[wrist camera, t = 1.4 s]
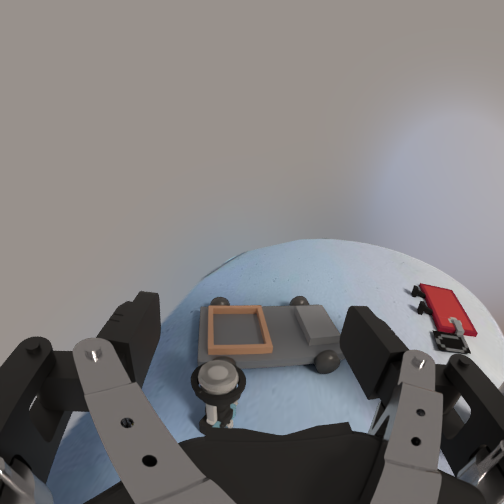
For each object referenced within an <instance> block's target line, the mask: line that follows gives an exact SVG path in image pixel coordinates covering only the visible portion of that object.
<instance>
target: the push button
mask: <svg viewBox="0 0 504 504" xmlns="http://www.w3.org/2000/svg"><path fill="white" fill-rule="evenodd" d="M199 383H200V384H201V388H200V387H199ZM237 383H238V385H239V386H238V387H237V388H236V385H237ZM191 385H192V388H193V390H194V391H195V394H196V396H197V397H198V398H200V399H201V400H202V401H203V402H205V403H206V407H205V414H206V415H205V416H204V417H203V418H202V419H201V420H200V422H199V426H200V432H201V433H203V434H204V435H206V427H218V428H226V427H227V426H228V428H230V427H231V428H232V427H233V418H234V417H235V414H236V406H237V404H238V402H237V401H238V399H239V398H240V396H241V393H242V392H243V391H244V389H245V385H246V378H245V375H244V373H243V371H242V370H241V369H240V368H239V367H237V366H236V365H234V364H232V363H229V362H226V361H222V360H214V361H209V362H206V363H204V364H202V365H200V366H198V367H197V368H196V369H195V370H194V371H193V373H192V376H191Z"/></svg>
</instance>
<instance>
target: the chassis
mask: <svg viewBox="0 0 504 504" xmlns="http://www.w3.org/2000/svg"><path fill="white" fill-rule="evenodd" d="M339 341H340V333H339V332H338V330H337V328H336V327H335V325H334V324H333V322H332V320H331V319H330V317H329V316H328V314H327V312H326V311H325V309H324V307H323V306H322V305H309V303H308V301H307V299H306V298H305V297H303V296H297V297H295V298H293V299H292V300H291V302H290V306H264V307H261V305H252V306H230V303H229V301H228V300H227V299H226V298H223V297H217V298H214V299H213V300H212V301H211V304H210V306H209V307H201V309H200V325H199V343H198V366H200V365H202V364H204V363H206V362H209V361H214V360H222V361H226V362H229V363H232V364H234V365H236V366H237V367H239V368H240V369H246V368H267V367H282V366H294V365H304V364H313V363H314V364H315V366H316V368H317V371H318V372H319V373H321V374H328V373H331V372H333V371H334V370H336V369H337V368H338V367H339V365H340V360H344V359H345V356H344V355H343V353H342V351H341V349H340V343H339Z"/></svg>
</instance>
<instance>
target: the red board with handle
mask: <svg viewBox="0 0 504 504" xmlns="http://www.w3.org/2000/svg"><path fill="white" fill-rule="evenodd" d="M419 286H420V288H421V291H422V292H421V291H419V289H418V287H417V286H415V285H414V288H413V290H412V293H411V294H412V296H413V297H416V296H417V295H419V296H421V297H423V298H425V300H426V303H427V305H428V307H429V308H428V307H426V305H425V303H424V301H420V304H419V307H418V309H417V311H418V314H420V315H422V314H423V311H425V312H426V313H428V314H430V315H432V317H433V320H434V322H435V325H436V327H437V330H438V331H433V333H434V336H435V339H436V342H437V345H438V348H439V350H447V351H454V352H462V353H470V354H471V352H470V350H469V347H468V345H467V343H466V341H465V339H464V336H463V335H466V336H474V337H476V335H477V334H478V333H477V332H476V330H475V328H474V326H473V324H472V323H471V321H470V319H469V317H468V316H467V314H466V312H465V310H464V309H463V307H462V305H461V304H460V302H459V301H458V299H457V297H456V296H455V294H454V293H453V291H452V290H449V289H445V288H440V287H435V286H431V285H426V284H422V283H420V285H419ZM439 331H441V332H439ZM445 332H447V333H445ZM452 333H454V334H452Z"/></svg>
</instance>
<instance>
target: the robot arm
mask: <svg viewBox="0 0 504 504" xmlns="http://www.w3.org/2000/svg"><path fill="white" fill-rule="evenodd" d="M160 333H161V322H160V304H159V295H158V293H152V292H144V291H140V292H139V293H138V295H137V296H136V298H135V299H134V301H133V302H130V301H127V302H125V303H124V304H122V305H120V306H118V308H117V309H116V310H115V312H114V313H113V315H112V316H111V317H110V319H109V321H107V323H106V324H105V325H104V327H103V328H102V330H101V331H100V332H99V334H98V335H97V337H96V338H88V339H85V340H82V341H80V342H79V343H77V344H76V345H75V347H74V349H73V351H53V348H52V345H51V343H50V341H49V340H47V339H46V338H43V337H31V338H28V339H26V340H24V341H22V342H21V343H20V344H19V345H18V346H17V348H16V349H15V350H14V351H13V352H12V353H11V355H10V356H9V357H8V358H7V360H6V361H5V362H4V363H3V365H2V366H1V367H0V504H53V497H52V494H51V491H50V490H49V488H48V487H47V486H46V482H47V478H48V475H49V472H50V469H51V466H52V463H53V460H54V458H55V455H56V452H57V449H58V447H59V444H60V441H61V439H62V436H63V434H64V431H65V429H66V426H67V423H68V421H69V419H70V417H71V414H72V412H73V411H81V412H90V414H91V416H92V419H93V422H94V424H95V427H96V429H97V431H98V434H99V436H100V438H101V441H102V443H103V445H104V447H105V449H106V452H107V454H108V456H109V458H110V460H111V462H112V464H113V466H114V468H115V470H116V471H117V473H118V475H119V477H120V479H121V481H120V482H118V483H117V484H115V485H114V486H112V487H110V488H109V489H107V490H106V491H104V492H102V493H101V494H99V495H97V496H96V497H94V498H92V499H90V500H89V501H87V502H85V503H83V504H501V503H502V502H504V382H503V383H502V385H501V386H500V388H499V389H497V387H496V386H495V385H494V384H493V383H492V382H491V380H490V379H489V378H488V377H487V376H486V375H485V374H484V373H483V371H482V370H481V369H480V368H479V367H478V366H477V365H476V364H475V363H474V362H473V361H472V360H471V359H470V358H468V357H467V356H464V355H461V354H454V355H452V356H451V357H450V359H449V361H448V363H447V364H446V365H441V364H435V362H434V360H433V359H432V357H431V356H429V355H428V354H426V353H424V352H422V351H419V350H409V349H408V348H407V347H406V345H405V344H404V343H403V342H402V341H401V340H400V339H399V337H398V336H397V335H395V333H394V332H393V331H392V330H391V328H390V327H389V326H388V325H387V324H386V323H385V322H384V321H382V320H381V319H379V318H378V317H376V316H375V314H374V313H373V312H372V311H371V310H370V309H369V308H368V307H367V306H351V307H349V309H348V311H347V315H346V318H345V322H344V325H343V328H342V332H341V335H340V341H339V343H340V349H341V351H342V353H343V355H344V356H345V358H346V360H347V362H348V364H349V365H350V367H351V369H352V371H353V373H354V375H355V377H356V378H357V380H358V382H359V384H360V386H361V388H362V390H363V391H364V393H365V395H366V397H367V399H368V400H370V399H376V398H380V399H381V401H380V402H379V404H378V406H377V409H376V412H375V415H374V418H373V420H372V423H371V426H370V429H369V431H368V434H367V433H363V432H356V431H352V430H351V427H350V425H349V422H344V423H337V424H329V425H320V426H315V427H312V428H308V429H305V430H302V431H298V432H295V433H291V434H288V435H275V434H269V433H263V432H258V431H253V430H248V429H240V428H218V427H206V436H205V437H197V438H193V439H189V440H185V441H182V442H180V443H177V442H176V440H175V439H174V438H173V436H172V435H171V434H170V432H169V431H168V429H167V428H166V427H165V425H164V424H163V422H162V421H161V419H160V418H159V416H158V415H157V413H156V412H155V410H154V409H153V407H152V406H151V404H150V403H149V401H148V399H147V398H146V396H145V395H144V393H143V391H142V390H141V389H142V386H143V383H144V380H145V377H146V374H147V372H148V369H149V366H150V363H151V361H152V358H153V355H154V353H155V350H156V347H157V345H158V342H159V339H160ZM461 395H462V397H463V398H464V399H465V401H466V402H467V404H468V405H469V406H470V408H471V416H470V418H469V420H468V421H467V422H466V424H464V423H463V421H462V420H461V418H460V417H459V415H458V414H457V412H456V411H455V409H454V408H453V407H454V405H455V404H456V402H457V401H458V399H459V398H460V396H461ZM35 396H37V398H36V400H35V401H34V403H33V405H32V407H31V409H30V411H29V408H30V405H31V403H32V401H33V399H34V398H35ZM440 448H441V450H442V452H443V454H444V456H445V458H446V460H447V462H448V463H449V465H450V467H451V469H452V471H453V473H454V475H455V477H454V476H452V475H450V474H447V473H445V472H443V471H441V470H439V469H437V466H438V459H439V451H440Z"/></svg>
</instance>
